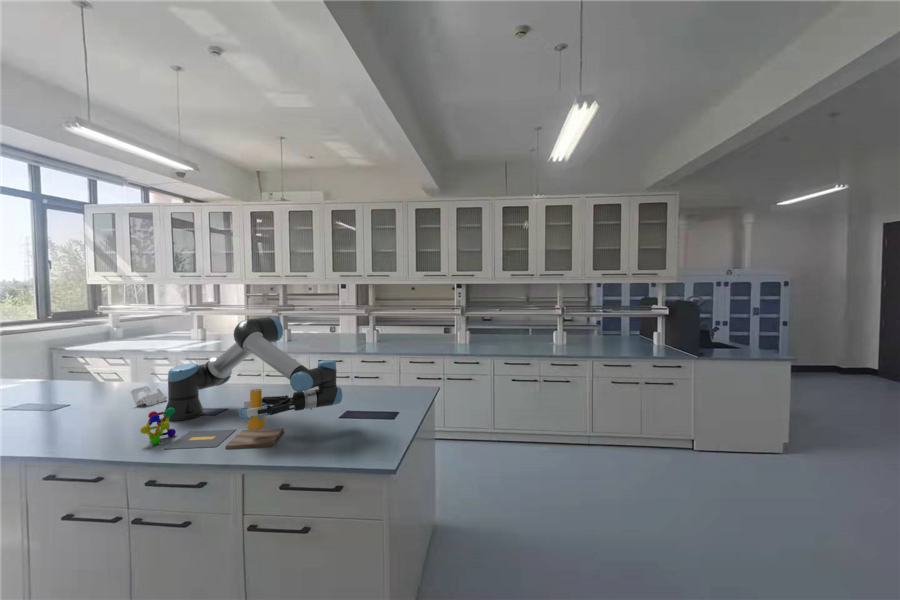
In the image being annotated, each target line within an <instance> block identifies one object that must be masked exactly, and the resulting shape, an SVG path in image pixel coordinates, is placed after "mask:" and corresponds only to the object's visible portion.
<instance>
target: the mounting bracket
mask: <svg viewBox="0 0 900 600" xmlns="http://www.w3.org/2000/svg"><path fill="white" fill-rule="evenodd" d="M140 392H141V393H144V394H145V395H144V396H142V397H139V393H140ZM130 394H131V397H132V399H133V401H134V404H135V407H140V406H143V405H146V407H147V406H148V407H149V406H152V405H153V406H154V405H157V404H159V403H162V402H166V401H167V400H168V396H166V395H165V393H163V392H162V391H161V389H160V388H157V389H154V390H152V389H151V388H150V387H149V386H147V385H145V386H141V387H138V388H134V389H131V390H130Z"/></svg>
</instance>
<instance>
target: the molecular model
mask: <svg viewBox="0 0 900 600" xmlns="http://www.w3.org/2000/svg"><path fill="white" fill-rule="evenodd" d="M166 413H167V414H166ZM174 413H175V409H174V408H168V409H167V411H165V410H164V411H160V412H157V411H151V412H149V413H148V418H149V419H148V420H147V423H146V425H143V426H142V427H141V428H140V433H141V434H147V436H148V439H149V440H150V443H151V444H152V445H158V444H159V443H161V438H160V437H163V436H168V437H173V436H174V435H176V432H177V430H176V429H175V428H170V427H171V426H170V425H171V424H170V421H169V418H170V416H171V415H172V414H174ZM164 414H166V415H165V416H164ZM160 415H163V418H161V417H160ZM165 419H166V420H165ZM153 423H156V425H155V426H152V424H153ZM151 430H155V431H154V432H152V431H151ZM165 430H167V431H165ZM164 431H165V432H164Z"/></svg>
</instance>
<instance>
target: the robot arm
mask: <svg viewBox="0 0 900 600" xmlns="http://www.w3.org/2000/svg"><path fill="white" fill-rule="evenodd" d="M283 327H284V326H283V324H282V322H281V321H280V320H279V319H278V318H276V317H271V316H269V317H259V318H247V319H244V320H242V321H240V322H238V324H237V325H236V326H235V328H234V330H233V340H234V341H235V343H234V344H232V345H231V346H230V347H229V348H228V349H226V350H225V351H224V352H223V353H221V354H220V355H219V356H214V357H212V358H210V359H209V360H208V361H207V362H206V363H203V364H198V363H195V362H194V363H193V362H192V363H190V362H189V363H183V364H179V365H175V366H174V367H172V368H171V367H170V369H169V370H168V373H167V392H168V393H167V395H168V396H167V404H166V407H165V409H164V411H167V409H168V408H174V409H175V413H174V414H172V415H171V416H170V418H169V421H168V422H180V421H186V420H191V419H195V418H198V417H200V416H202V415H203V414H204V409H203V408H204V407H203V405H202V403H201V400H200V397H199V391H201V390H204V389H208V388H209V389H210V388H212V387H218V386H221V385H223V384H225V383H227V382H228V381H229V380H230V379H231V375H232V373H233V369H234V368H236V367H237V366H238V365H239V364H241V363H242V362H243V361H244V360H246V358H248V357H249V356H250V355H252V354H253V355H255V356H256V357H257V358H258V359H260V360H261V361H262V362H264V363H265V364H267V365H268V366H270V367H271V368H272V369H274V370H275V371H276V372H278V373H279V374H281V375H282V376H283V377H284V378H286V379H287V380H289V383H290V386H291V389H292V390H293V391H295V392H293V394H292V397H289V395H278V396H276V395H275V396H263V397H262V403H266V405H267V407H266V406H265V407H264V405H262V407H258V408H251V409H250V399H249V400H244V401H243V407H248V408H249V409H246V411H247V416H248V417H249V416H256V415H262V414H270V415H269V416H272V415H277V414H281V413H284V412H288V411H293V410H294V411H295V412H296V411H303V410H309V409H310V410H313V409H315V408H321V407H322V408H323V407H330V406H335V405H339V404H341V402H342V400H343V391H342V388H341V387H340V386H338V385H337V370H338V369H337V362H336V361H335V360H333V359H325V360H324V359H323V360H319V361H318V362H317V367H314V368H311V369H309V368H308V367H306V366H305V365H303V364H302V363H300V362H298V361H297V360H296V359H295V358H293V357H292V356H290V354H289V355H288V354H287V353H286V352H285V351H284V350H282V349H280V348H279V347H278V346H276V345H275V344H274V343H276V342H279V341H280V340H281V339H282V338H283V336H284V335H283V334H284V329H283ZM316 387H318V388H316ZM313 388H316V389H313ZM269 405H271V406H269ZM166 414H167V413H166ZM166 414H163V417H164V416H165V415H166ZM248 417H247V418H248ZM165 421H166V419H165Z"/></svg>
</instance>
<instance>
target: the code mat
mask: <svg viewBox="0 0 900 600" xmlns="http://www.w3.org/2000/svg"><path fill="white" fill-rule="evenodd" d="M234 432H236V429H216V430H215V429H214V430H213V429H211V430H192V431H190V430H189V431H187V433H185V434H183V435H182V436H180V437H179V438H177V439H176V440H174V441H173V442H172V443H170V444H169V445H168V446H166V447H164V448H163V450H178V449H179V450H184V449H203V448H218V446H220V445H221V444H223V442H224V441H225V440H226V439H227V438H228V437H230V436H231V435H233V433H234Z"/></svg>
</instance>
